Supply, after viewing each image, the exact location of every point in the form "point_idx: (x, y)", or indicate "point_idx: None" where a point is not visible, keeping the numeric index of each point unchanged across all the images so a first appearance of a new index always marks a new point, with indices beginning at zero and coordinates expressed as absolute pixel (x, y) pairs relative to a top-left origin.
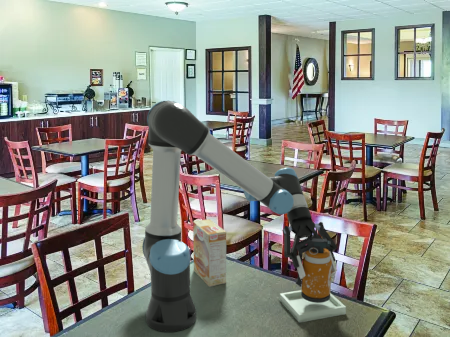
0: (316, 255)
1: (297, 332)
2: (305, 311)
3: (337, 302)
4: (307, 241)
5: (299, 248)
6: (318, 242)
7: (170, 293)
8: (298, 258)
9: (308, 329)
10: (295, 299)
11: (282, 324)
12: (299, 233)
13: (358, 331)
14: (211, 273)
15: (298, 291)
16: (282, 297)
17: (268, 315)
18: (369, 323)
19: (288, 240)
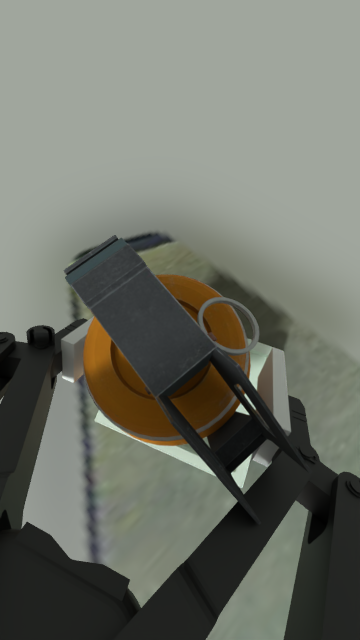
0: (225, 305)
1: (307, 327)
2: None
3: None
4: (248, 382)
5: (279, 441)
6: (172, 303)
7: None
8: (285, 413)
9: (275, 320)
10: (206, 438)
11: (318, 375)
12: (172, 637)
13: (189, 253)
14: None
15: (180, 452)
16: (248, 463)
17: (324, 435)
18: (144, 257)
19: (352, 629)
